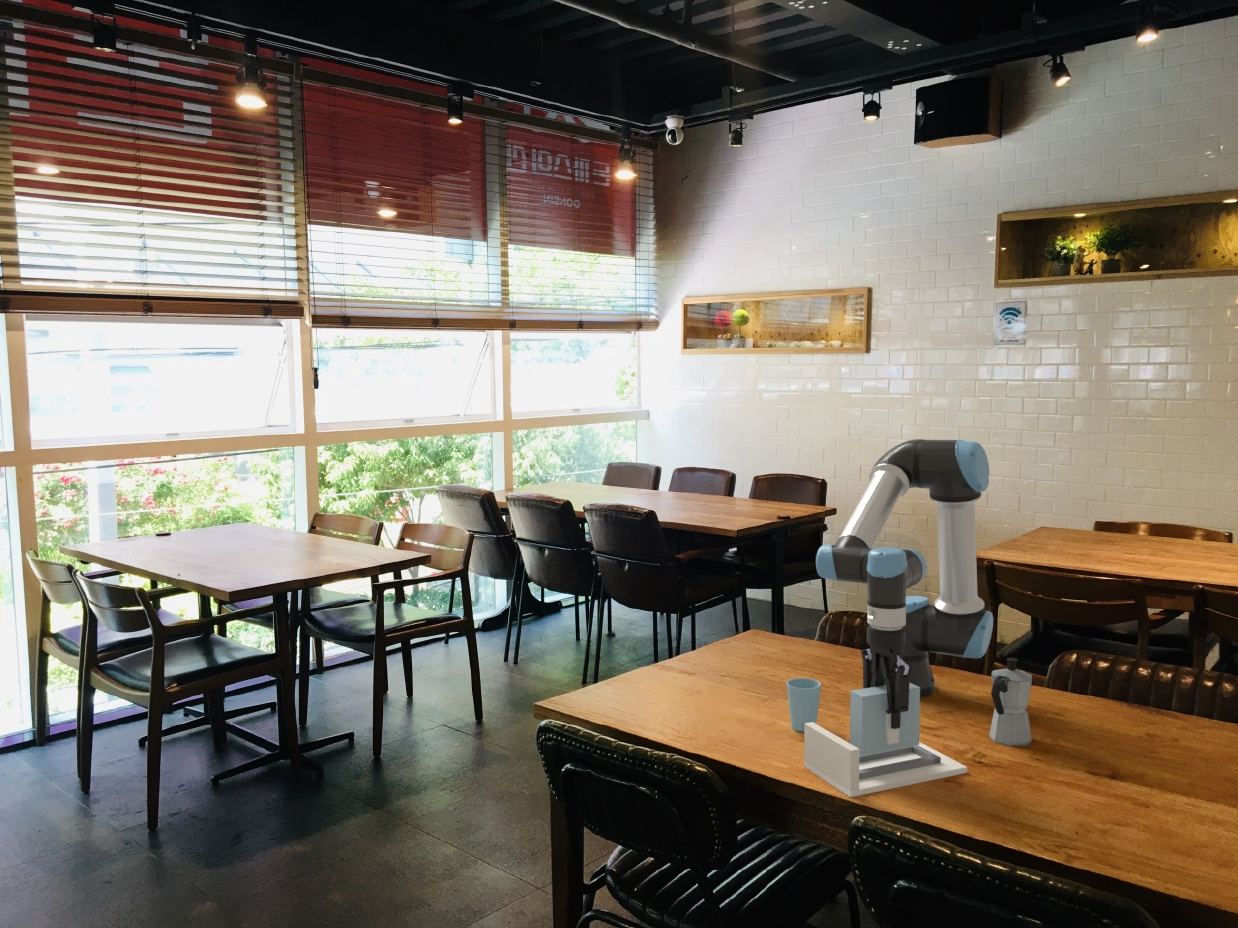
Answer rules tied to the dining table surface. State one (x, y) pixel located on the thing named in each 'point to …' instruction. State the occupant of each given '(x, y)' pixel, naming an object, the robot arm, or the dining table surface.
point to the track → (871, 764)
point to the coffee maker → (1011, 705)
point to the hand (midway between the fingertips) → (885, 738)
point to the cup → (803, 701)
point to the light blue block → (881, 720)
